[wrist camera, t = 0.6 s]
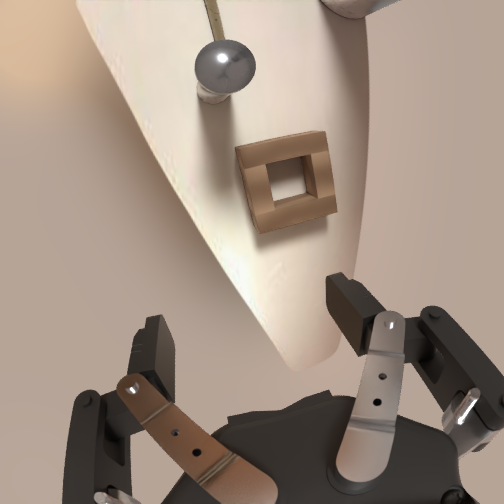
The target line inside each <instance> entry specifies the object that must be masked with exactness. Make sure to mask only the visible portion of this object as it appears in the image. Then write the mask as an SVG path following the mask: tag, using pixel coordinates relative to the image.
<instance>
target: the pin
mask: <svg viewBox="0 0 504 504" xmlns="http://www.w3.org/2000/svg"><path fill="white" fill-rule="evenodd" d="M255 70H256V63H255V59H254V56H253V54H252V53H251V51H250V50H249V49H248V48H247V47H246V46H244V45H243V44H241V43H239V42H237V41H233V40H218V41H214V42H212V43H210V44H208V45H206V46H205V47H204V48H203V49H202V50H201V51H200V52H199V54H198V56H197V58H196V61H195V75H196V78H197V80H198V83H197V93H198V96H199V97H200V98H201V99H202V100H203V101H204V102H206V103H210V104H217V103H220V102H222V101H224V100H225V99H226V98H227V97H228V96H229V95H230V94H232V93H235V92H238V91H240V90H241V89H243V88H244V87H245V86H246V85H248V84H249V82H250V81H251V80H252V78H253V76H254V74H255Z"/></svg>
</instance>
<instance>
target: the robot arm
mask: <svg viewBox="0 0 504 504" xmlns="http://www.w3.org/2000/svg"><path fill="white" fill-rule="evenodd" d="M398 1H400V0H322V2H323V3H324V4H325V5H326V6H327V7H328V8H330V9H331V10H332V11H334V12H335V13H337V14H339V15H341V16H344V17H347V18H351V19H358V18H362V17H364V16H366V15H368V14H370V13H373V12H375V11H377V10H380V9H382V8H384V7H386V6H388V5H391V4H393V3H395V2H398ZM326 305H327V309H328V311H329V313H330V315H331V316H332V318H333V319H334V321H335V322H336V324H337V325H338V327H339V328H340V330H341V331H342V333H343V334H344V336H345V337H346V339H347V340H348V342H349V343H350V345H351V346H352V348H353V349H354V351H355V352H356V354H357V355H358V357H359V356H362V355H365V354H367V358H366V362H365V366H364V370H363V374H362V379H361V382H360V386H359V390H358V394H357V397H356V398H355V397H350V396H332V395H331V393H330V391H329V390H326V391H323V392H321V393H317V394H314V395H311V396H308V397H305V398H303V399H301V400H299V401H297V402H296V403H294V404H292V405H290V406H288V407H286V408H284V409H282V410H277V411H252V412H248V413H243V414H239V415H234V416H229V417H227V418H228V424H227V425H224V426H223V427H221V428H219V429H218V430H217V431H215V432H214V433H213V434H211V435H209V434H208V433H206V432H205V431H204V430H203V429H202V428H201V427H199V426H198V425H197V424H196V423H195V422H194V421H192V420H191V419H190V418H189V417H188V416H187V415H186V414H185V413H183V412H182V411H181V410H180V409H179V408H178V407H177V406H176V405H175V404H174V403H175V345H174V341H173V338H172V335H171V333H170V331H169V329H168V326H167V324H166V321H165V319H164V317H163V316H162V315H156V316H151V317H147V318H146V324H145V328H143V329H139V330H138V332H137V333H136V335H135V336H134V339H133V344H132V349H131V355H130V360H129V365H128V371H127V375H126V376H124V377H123V378H122V379H121V380H120V381H119V382H118V384H117V387H116V390H114V391H112V392H109V393H106V394H104V395H101V396H100V395H99V394H98V393H97V392H96V391H95V390H86V391H84V392H82V393H80V394H79V395H78V396H77V397H76V399H75V401H74V406H73V411H72V416H71V422H70V428H69V435H68V441H67V450H66V458H65V467H64V479H63V497H62V504H141V503H140V502H139V501H138V500H137V499H135V498H133V497H132V485H131V460H130V435H132V434H135V433H137V432H140V431H142V430H146V431H147V432H148V433H149V434H150V436H151V437H152V438H153V439H154V440H155V441H156V442H157V443H158V444H159V446H160V447H162V449H163V450H164V451H165V452H166V453H167V454H168V455H169V456H170V457H171V458H172V459H173V460H174V461H175V462H176V463H177V464H178V465H179V466H180V467H181V468H182V469H183V470H184V473H183V474H182V476H181V477H180V479H179V480H178V481H177V483H176V484H175V485H174V487H173V488H172V490H171V491H170V492H169V494H168V495H167V496H166V498H165V499H164V500H163V502H162V503H161V504H480V503H479V502H477V501H476V500H475V499H474V498H473V497H471V496H470V495H469V494H468V493H467V492H466V491H465V489H464V488H463V486H462V483H461V480H460V476H459V466H458V460H459V459H461V458H462V457H464V456H465V455H467V454H468V453H469V452H477V451H480V450H482V449H483V448H484V447H485V446H486V445H487V444H488V443H489V442H490V441H491V440H492V439H493V438H494V437H495V436H496V435H497V434H498V433H499V432H500V431H501V430H502V429H503V428H504V376H503V375H502V374H501V372H500V371H499V370H498V369H497V368H496V366H495V365H494V364H493V363H492V362H491V360H490V359H489V358H488V357H487V356H486V355H485V354H484V352H483V351H482V350H481V349H480V348H479V347H478V345H477V344H476V343H475V342H474V341H473V340H472V339H471V338H470V336H469V335H468V334H467V333H466V332H465V331H464V330H463V329H462V328H461V327H460V326H459V325H458V323H457V322H456V321H455V320H454V319H453V318H452V317H451V316H450V315H449V314H448V313H447V312H446V311H445V310H444V309H442V308H440V307H438V306H427V307H425V308H423V309H422V311H421V314H420V317H412V318H404V317H403V316H402V315H401V314H399V313H397V312H395V311H387V310H386V309H385V308H384V307H383V306H382V305H381V304H380V303H379V302H378V300H376V298H375V297H373V295H371V293H370V292H369V291H367V289H366V288H365V287H364V286H363V284H361V283H360V282H358V281H356V280H354V279H352V280H348V279H347V278H346V277H345V275H344V274H343V273H341V272H340V273H336V274H332V275H329V276H327V277H326ZM440 353H441V354H440ZM405 363H412V365H413V366H414V368H415V369H416V371H417V372H418V374H419V375H420V377H421V378H422V380H423V381H424V383H425V384H426V386H427V387H428V389H429V390H430V392H431V393H432V395H433V396H434V398H435V399H436V401H437V403H438V404H439V406H440V407H441V409H442V410H443V412H444V414H443V416H442V425H443V428H444V429H443V430H444V432H443V431H441V430H439V429H436V428H433V427H430V426H427V425H424V424H421V423H418V422H415V421H413V420H410V419H408V418H405V417H403V416H400V415H397V411H398V406H399V399H400V393H401V385H402V378H403V370H404V364H405Z"/></svg>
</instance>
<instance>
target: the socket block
mask: <svg viewBox="0 0 504 504" xmlns="http://www.w3.org/2000/svg"><path fill="white" fill-rule="evenodd" d="M235 149H236V153H237V157H238V161H239V165H240V170H241V174H242V178H243V182H244V186H245V190H246V194H247V199H248V203H249V207H250V211H251V215H252V220H253V224H254V226H255V228H256V229H257V231H258V232H259V234H262V233H266V232H269V231H273V230H276V229H280V228H283V227H287V226H290V225H294V224H297V223H301V222H304V221H308V220H311V219H315V218H318V217H322V216H325V215H329V214H333V213H336V212H337V204H336V196H335V189H334V181H333V175H332V168H331V161H330V155H329V149H328V143H327V138H326V132H325V131H310V132H304V133H299V134H293V135H288V136H283V137H278V138H273V139H269V140H264V141H260V142H255V143H251V144H247V145H242V146H238V147H235ZM299 156H301V159H302V165H303V170H304V176H305V181H306V187H307V193H304V194H300V195H296V196H292V197H289V198H285V199H281V200H277V201H274V202H273V197H272V193H271V188H270V183H269V179H268V174H267V169H266V165H265V164H268V163H272V162H277V161H281V160H286V159H290V158H295V157H299Z"/></svg>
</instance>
